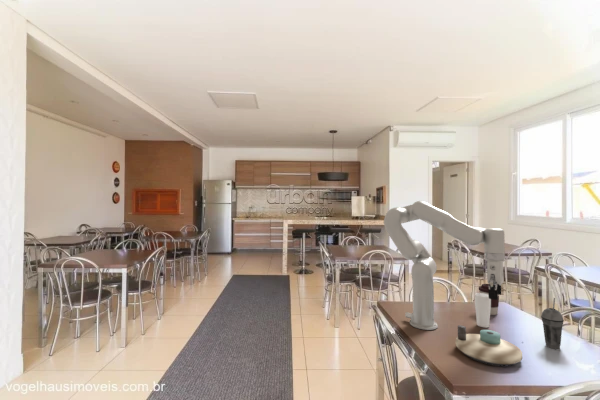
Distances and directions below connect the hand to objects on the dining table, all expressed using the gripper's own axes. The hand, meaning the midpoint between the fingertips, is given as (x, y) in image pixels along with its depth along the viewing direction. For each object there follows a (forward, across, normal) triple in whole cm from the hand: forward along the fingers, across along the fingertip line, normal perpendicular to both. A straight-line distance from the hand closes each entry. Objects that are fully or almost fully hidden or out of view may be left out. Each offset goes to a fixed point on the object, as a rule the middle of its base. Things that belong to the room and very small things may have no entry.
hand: (495, 296), depth 130 cm
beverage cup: (+19, +8, -19) cm, 28 cm away
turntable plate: (+17, -17, +1) cm, 24 cm away
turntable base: (+19, -16, 0) cm, 25 cm away
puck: (+16, -10, 0) cm, 19 cm away
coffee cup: (+19, +38, +8) cm, 43 cm away
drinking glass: (+19, +14, +7) cm, 25 cm away
